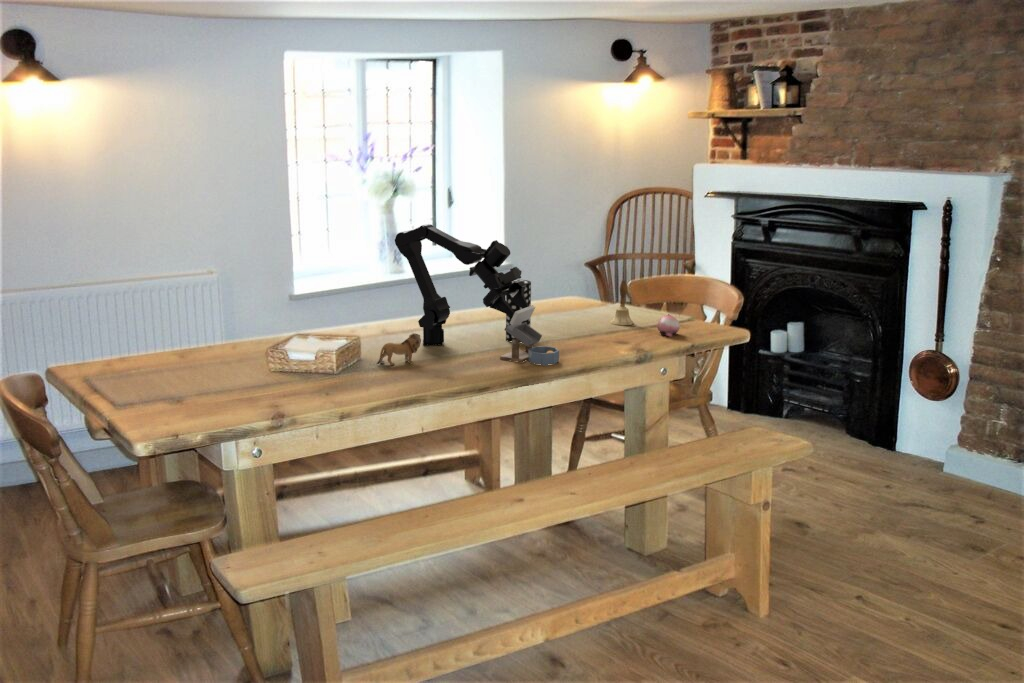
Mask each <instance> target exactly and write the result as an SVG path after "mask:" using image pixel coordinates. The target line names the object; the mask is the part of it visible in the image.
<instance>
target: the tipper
mask: <svg viewBox="0 0 1024 683" xmlns="http://www.w3.org/2000/svg"><path fill="white" fill-rule="evenodd" d="M535 309H536V306H535V305H532V304H531V306H529V307H526V308H524V309H521V310H518V311H515V313H514V315H513V317H512V319H511V321H510V324H511V325H509V326H507V327H506V326H505V327H504V330H503V331H505V332H506V331H507V332H508V333H509V334H511V335H512V336H513V337H515V338H516V339H518V340H519V341H520V342H522V344H523V345H524V346H525V345H526V346H527V347H529V346H531V345H532V346H533V345H535V344H538V343H540V341H541V339H542V337H543V334H541V333H540V332H539V331H537V330H536V329H534V328H533V327H531V325H530V326H529V325H527V323H526V322H524V323H522V322H523V321H525V320H528V319H530V317H532V315H533V313H534V311H535ZM521 323H522V324H521Z"/></svg>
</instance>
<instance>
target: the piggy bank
mask: <svg viewBox="0 0 1024 683" xmlns="http://www.w3.org/2000/svg"><path fill="white" fill-rule="evenodd" d="M656 328H657V330H658V331H659V334H661V335H663V336H667V337H669V338H674V337H676V336H677V333H678V332H679V331H680V328H681V325H680V322H679V320H678V319H677V318H676V317H675V316H673V315H672V314H670V313H667V314H666V315H664V316H662V317H660V318H659V319H658V321H657V324H656Z"/></svg>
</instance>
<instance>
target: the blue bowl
mask: <svg viewBox="0 0 1024 683" xmlns="http://www.w3.org/2000/svg"><path fill="white" fill-rule="evenodd" d="M548 351H553V353H547V352H548ZM528 360H529V361H530V362H531V363H535V364H541V365H543V366H549V365H548V364H554V365H556V364H558V363H559V362H560V350H559V348H557V347H555V346H548V345H541V346H540V345H539V346H532V348H530V349H528ZM528 360H527V361H528ZM529 361H528V362H529ZM530 362H529V363H530ZM557 362H558V363H557ZM531 363H530V364H531ZM555 363H556V364H555ZM535 364H534V365H535ZM541 365H540V366H541Z"/></svg>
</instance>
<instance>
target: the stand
mask: <svg viewBox="0 0 1024 683" xmlns="http://www.w3.org/2000/svg"><path fill="white" fill-rule="evenodd" d="M524 347H525V348H524V350H523V349H520V343H519V340H518V339H512V342H511V351H510V352H507V353H504V354H502V355H500V356H499V359H500V360H502V361H508V360H511V361H510V362H514V361H518V362H517V363H520V362H523V361H525V360H527V361H528V349H530V348H532V347H533V345H531V346H529V347H527V346H526V345H524ZM525 362H526V361H525ZM523 363H524V362H523Z"/></svg>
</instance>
